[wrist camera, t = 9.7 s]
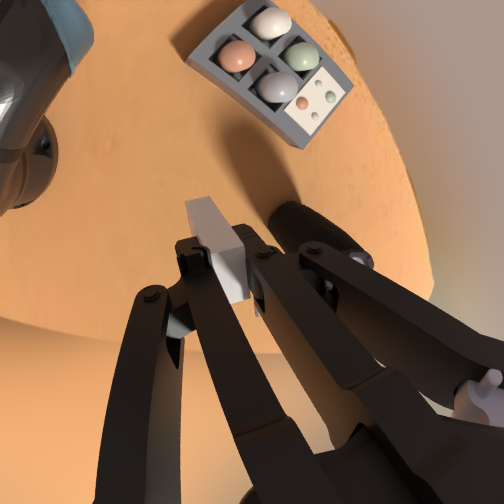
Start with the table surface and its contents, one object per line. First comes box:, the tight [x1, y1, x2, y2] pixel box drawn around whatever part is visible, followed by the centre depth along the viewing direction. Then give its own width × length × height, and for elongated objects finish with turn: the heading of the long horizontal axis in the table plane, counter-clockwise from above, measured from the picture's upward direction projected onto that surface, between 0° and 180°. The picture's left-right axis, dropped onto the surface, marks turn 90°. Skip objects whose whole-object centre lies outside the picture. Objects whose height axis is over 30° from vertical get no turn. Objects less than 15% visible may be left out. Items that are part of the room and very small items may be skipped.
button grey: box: [255, 71, 298, 102], centre depth 33 cm, size 4×4×4 cm
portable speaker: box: [268, 201, 374, 288], centre depth 43 cm, size 9×9×20 cm
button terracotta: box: [215, 41, 256, 74], centre depth 31 cm, size 4×4×4 cm
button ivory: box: [249, 7, 292, 41], centre depth 28 cm, size 4×4×4 cm
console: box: [184, 0, 354, 150], centre depth 35 cm, size 22×15×5 cm
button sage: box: [279, 42, 319, 72], centre depth 33 cm, size 4×4×4 cm
